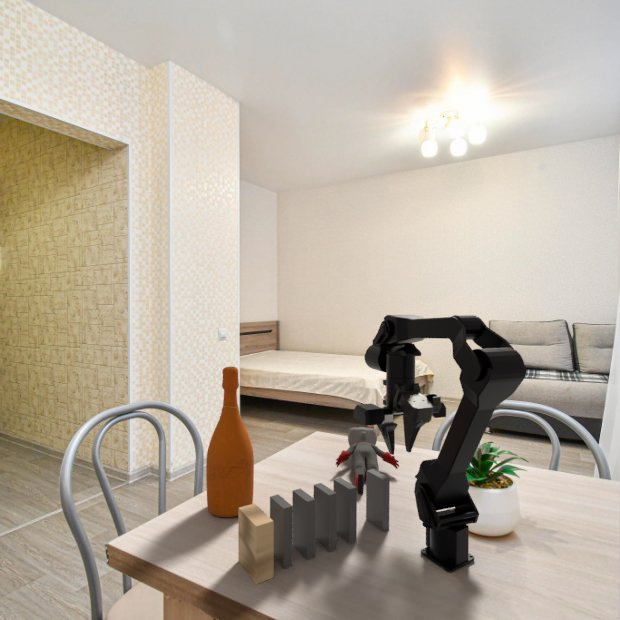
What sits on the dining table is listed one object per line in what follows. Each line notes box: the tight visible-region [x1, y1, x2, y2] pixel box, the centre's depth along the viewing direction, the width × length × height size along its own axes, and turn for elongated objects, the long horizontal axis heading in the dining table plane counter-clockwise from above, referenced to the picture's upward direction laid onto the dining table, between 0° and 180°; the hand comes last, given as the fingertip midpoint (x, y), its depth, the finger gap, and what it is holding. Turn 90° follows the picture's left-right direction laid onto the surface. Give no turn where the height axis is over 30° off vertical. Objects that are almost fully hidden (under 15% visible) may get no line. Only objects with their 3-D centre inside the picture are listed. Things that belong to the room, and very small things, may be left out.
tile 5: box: [269, 494, 293, 570], centre depth 72 cm, size 5×2×10 cm, turn 32°
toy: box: [335, 425, 400, 495], centre depth 112 cm, size 16×10×30 cm
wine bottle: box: [205, 366, 255, 518], centre depth 90 cm, size 10×10×30 cm
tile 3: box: [313, 482, 338, 553], centre depth 77 cm, size 5×2×10 cm, turn 32°
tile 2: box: [333, 477, 358, 545], centre depth 79 cm, size 5×2×10 cm, turn 32°
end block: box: [237, 502, 275, 585], centre depth 69 cm, size 7×3×9 cm, turn 32°
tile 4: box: [291, 488, 316, 561], centre depth 74 cm, size 5×2×10 cm, turn 32°
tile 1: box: [365, 469, 391, 532], centre depth 83 cm, size 5×2×10 cm, turn 31°
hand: (400, 453), depth 86 cm, fingers open, 4 cm apart
